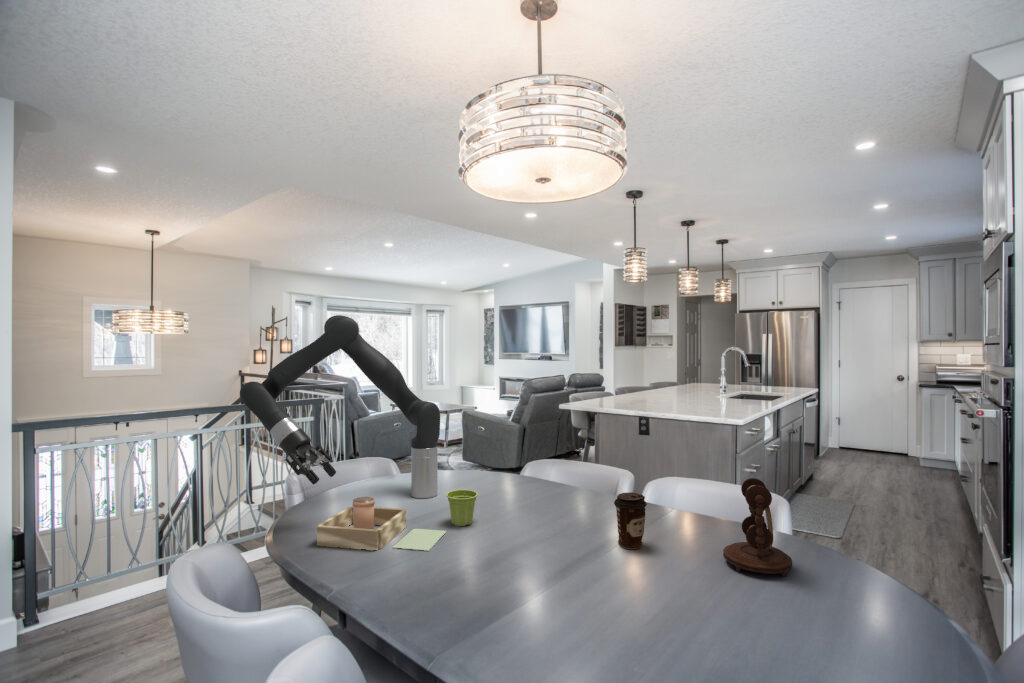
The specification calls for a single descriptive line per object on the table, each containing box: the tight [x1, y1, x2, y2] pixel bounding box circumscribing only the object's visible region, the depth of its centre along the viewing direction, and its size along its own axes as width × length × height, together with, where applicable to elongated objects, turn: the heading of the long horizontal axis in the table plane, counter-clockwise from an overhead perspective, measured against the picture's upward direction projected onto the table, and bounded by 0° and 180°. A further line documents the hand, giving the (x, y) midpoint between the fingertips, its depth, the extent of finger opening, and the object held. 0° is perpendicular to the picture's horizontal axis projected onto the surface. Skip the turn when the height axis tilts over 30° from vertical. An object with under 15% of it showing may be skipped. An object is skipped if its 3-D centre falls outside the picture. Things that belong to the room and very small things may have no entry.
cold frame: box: [316, 505, 407, 551], centre depth 142 cm, size 18×18×5 cm
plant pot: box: [446, 489, 479, 527], centre depth 152 cm, size 9×9×9 cm
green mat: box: [392, 528, 448, 552], centre depth 138 cm, size 14×10×1 cm
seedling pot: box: [351, 496, 376, 529], centre depth 142 cm, size 6×6×10 cm
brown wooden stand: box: [722, 477, 793, 578], centre depth 121 cm, size 15×15×20 cm
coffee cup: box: [613, 492, 648, 550], centre depth 134 cm, size 9×8×13 cm
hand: (325, 478), depth 145 cm, fingers open, 8 cm apart
